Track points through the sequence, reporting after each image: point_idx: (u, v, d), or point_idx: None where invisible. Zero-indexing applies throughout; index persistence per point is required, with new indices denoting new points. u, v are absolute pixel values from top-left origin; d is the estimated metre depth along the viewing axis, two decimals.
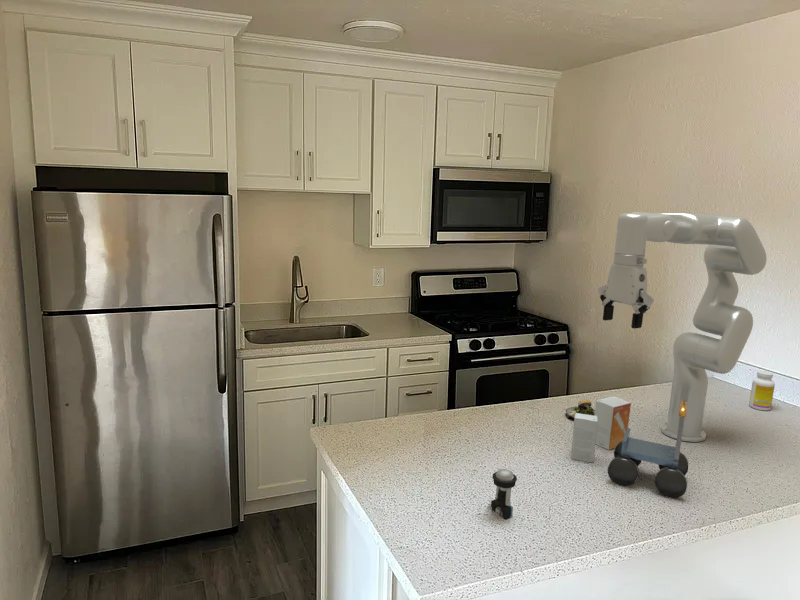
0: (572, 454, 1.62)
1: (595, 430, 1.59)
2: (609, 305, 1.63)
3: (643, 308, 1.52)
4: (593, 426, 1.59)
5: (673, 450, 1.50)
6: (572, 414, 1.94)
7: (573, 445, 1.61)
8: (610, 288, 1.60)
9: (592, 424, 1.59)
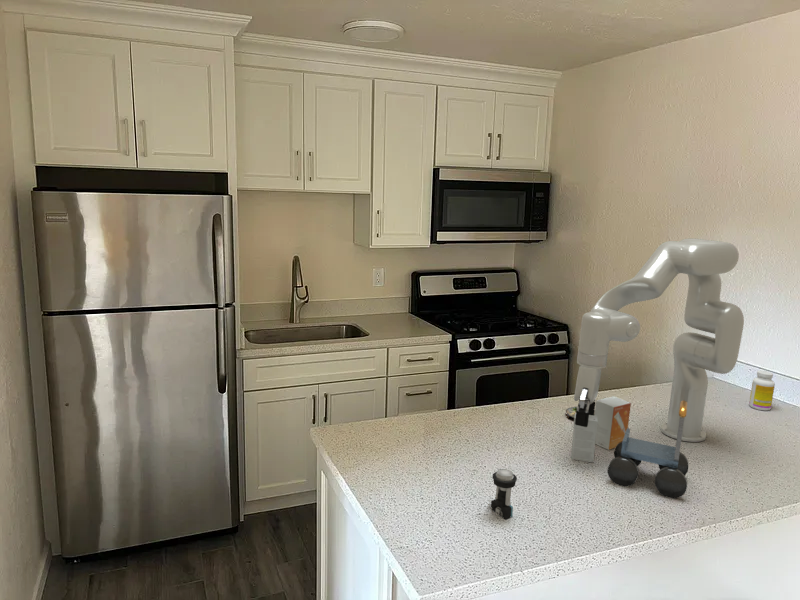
0: (572, 454, 1.62)
1: (595, 430, 1.59)
2: None
3: None
4: (593, 426, 1.59)
5: (673, 450, 1.50)
6: (572, 414, 1.94)
7: (573, 445, 1.61)
8: (595, 392, 1.56)
9: (592, 424, 1.59)
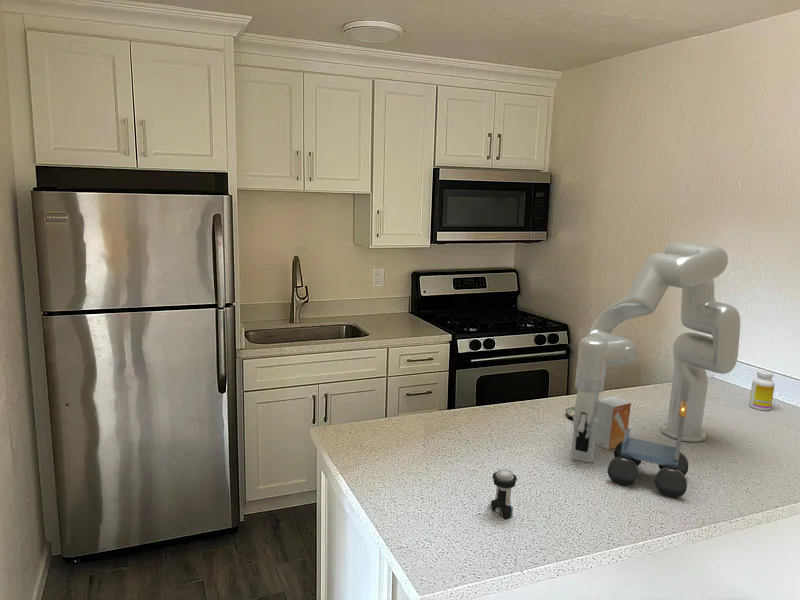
0: (572, 454, 1.62)
1: (595, 430, 1.59)
2: None
3: None
4: (593, 426, 1.59)
5: (673, 450, 1.50)
6: (572, 414, 1.94)
7: (573, 445, 1.61)
8: (593, 416, 1.57)
9: None
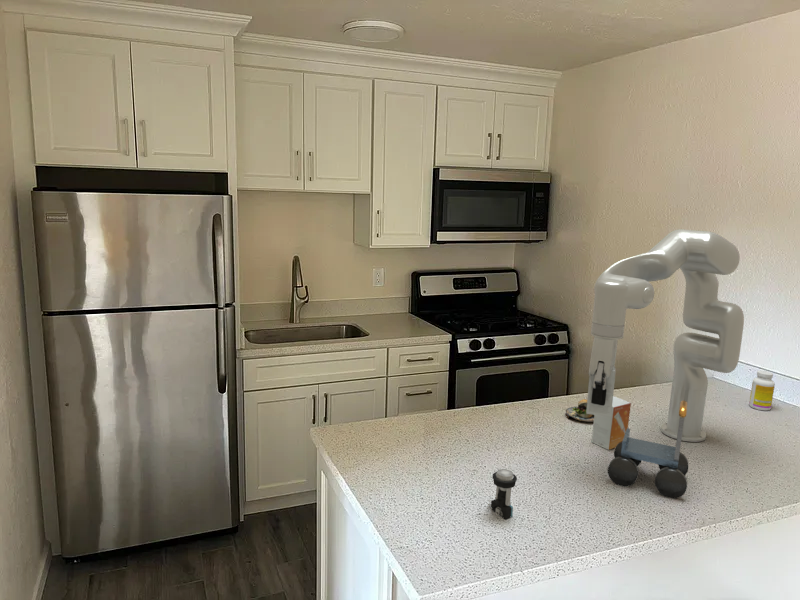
0: (587, 408, 1.48)
1: (613, 381, 1.45)
2: None
3: None
4: (610, 377, 1.45)
5: (673, 450, 1.50)
6: (572, 414, 1.94)
7: (589, 398, 1.47)
8: (611, 365, 1.43)
9: None
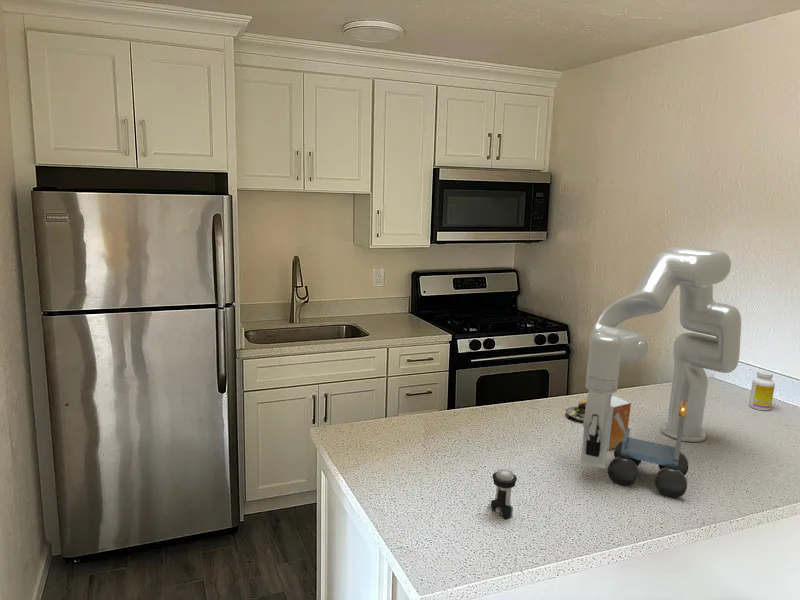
0: (582, 459, 1.50)
1: (607, 433, 1.47)
2: None
3: None
4: (604, 429, 1.47)
5: (673, 450, 1.50)
6: (572, 414, 1.94)
7: (583, 449, 1.50)
8: (605, 418, 1.46)
9: None
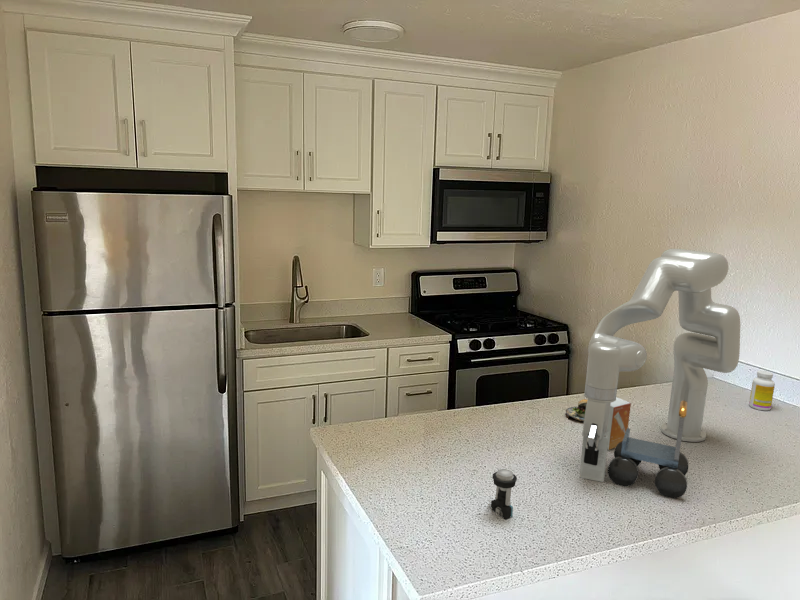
0: (581, 472, 1.51)
1: (605, 447, 1.48)
2: None
3: None
4: (603, 443, 1.48)
5: (673, 450, 1.50)
6: (572, 414, 1.94)
7: (582, 463, 1.51)
8: (604, 427, 1.46)
9: (602, 441, 1.48)
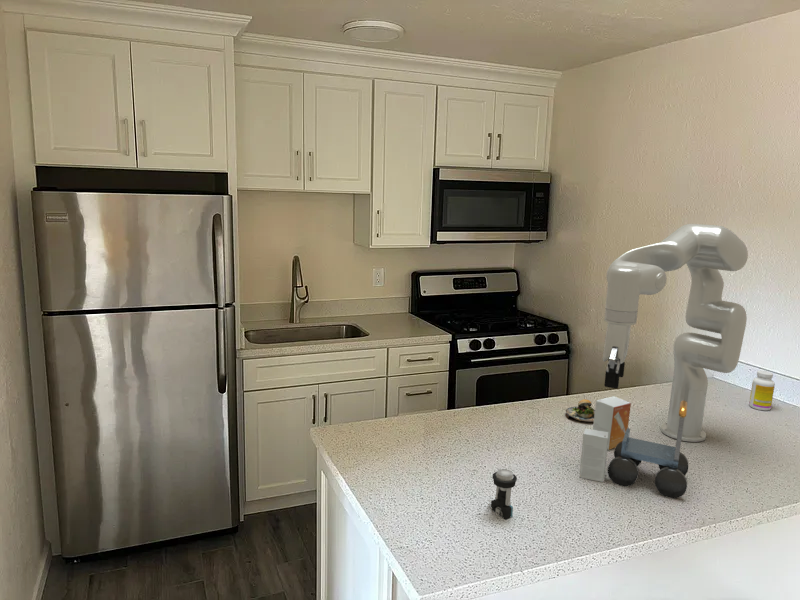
0: (581, 472, 1.51)
1: (605, 447, 1.48)
2: None
3: None
4: (603, 443, 1.48)
5: (673, 450, 1.50)
6: (572, 414, 1.94)
7: (582, 463, 1.51)
8: (625, 350, 1.45)
9: (602, 441, 1.48)
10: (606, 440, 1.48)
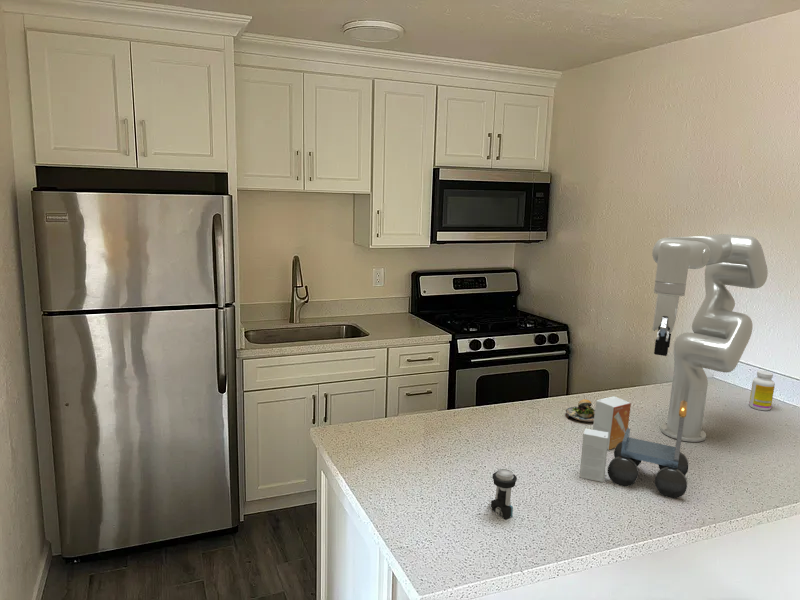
0: (581, 472, 1.51)
1: (605, 448, 1.48)
2: None
3: None
4: (603, 443, 1.48)
5: (673, 450, 1.50)
6: (572, 414, 1.94)
7: (582, 463, 1.51)
8: (674, 320, 1.56)
9: (602, 441, 1.48)
10: (606, 440, 1.48)
